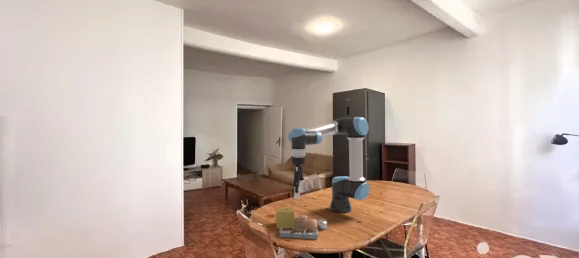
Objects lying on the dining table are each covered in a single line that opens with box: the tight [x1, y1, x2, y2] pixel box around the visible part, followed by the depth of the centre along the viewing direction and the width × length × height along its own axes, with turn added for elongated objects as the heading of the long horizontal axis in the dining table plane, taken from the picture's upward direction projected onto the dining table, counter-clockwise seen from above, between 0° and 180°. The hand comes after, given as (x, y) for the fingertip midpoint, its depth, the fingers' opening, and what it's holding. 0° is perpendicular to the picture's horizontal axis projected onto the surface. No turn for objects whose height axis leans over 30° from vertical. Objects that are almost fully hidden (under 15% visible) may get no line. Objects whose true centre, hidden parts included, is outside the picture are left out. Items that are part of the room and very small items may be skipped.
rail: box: [278, 227, 319, 240], centre depth 144 cm, size 21×8×3 cm, turn 80°
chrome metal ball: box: [316, 218, 328, 231], centre depth 153 cm, size 6×6×4 cm
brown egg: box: [298, 214, 309, 229], centre depth 156 cm, size 5×5×6 cm
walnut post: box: [294, 217, 304, 233], centre depth 145 cm, size 4×4×8 cm
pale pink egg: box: [307, 218, 317, 233], centre depth 149 cm, size 5×5×6 cm
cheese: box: [275, 206, 296, 230], centre depth 157 cm, size 10×11×10 cm
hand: (298, 195), depth 144 cm, fingers open, 13 cm apart
